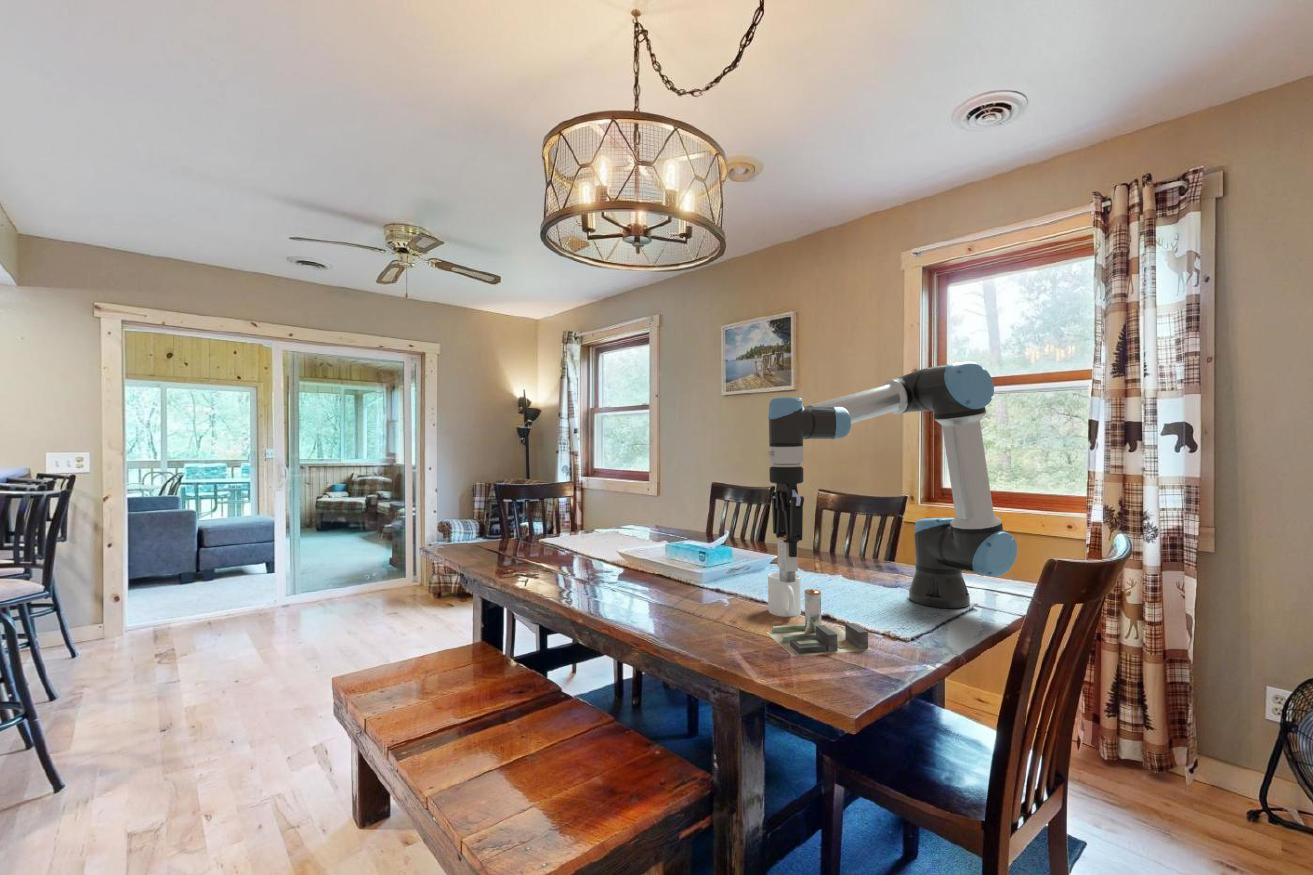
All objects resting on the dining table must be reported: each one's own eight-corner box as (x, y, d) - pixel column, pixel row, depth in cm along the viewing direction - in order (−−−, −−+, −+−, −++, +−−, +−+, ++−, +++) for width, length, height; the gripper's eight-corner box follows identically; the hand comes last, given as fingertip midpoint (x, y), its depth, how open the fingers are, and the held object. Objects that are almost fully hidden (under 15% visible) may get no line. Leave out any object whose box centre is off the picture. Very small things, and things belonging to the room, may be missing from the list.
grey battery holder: (838, 630, 134) (837, 611, 134) (873, 654, 119) (872, 633, 119) (766, 636, 131) (765, 617, 131) (792, 661, 116) (792, 639, 116)
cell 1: (791, 578, 130) (791, 534, 130) (798, 582, 127) (797, 536, 127) (776, 579, 130) (776, 534, 130) (782, 582, 126) (782, 537, 126)
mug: (809, 625, 139) (808, 583, 139) (775, 625, 138) (774, 583, 139) (796, 610, 151) (796, 571, 151) (765, 610, 150) (765, 572, 151)
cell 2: (817, 631, 131) (816, 587, 131) (824, 636, 128) (823, 591, 128) (802, 632, 131) (801, 588, 131) (809, 637, 127) (808, 592, 127)
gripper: (757, 464, 136) (759, 561, 136) (785, 467, 119) (786, 578, 119) (787, 463, 137) (788, 560, 137) (818, 466, 121) (819, 576, 121)
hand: (787, 568), depth 128 cm, fingers closed on cell 1, 3 cm apart
